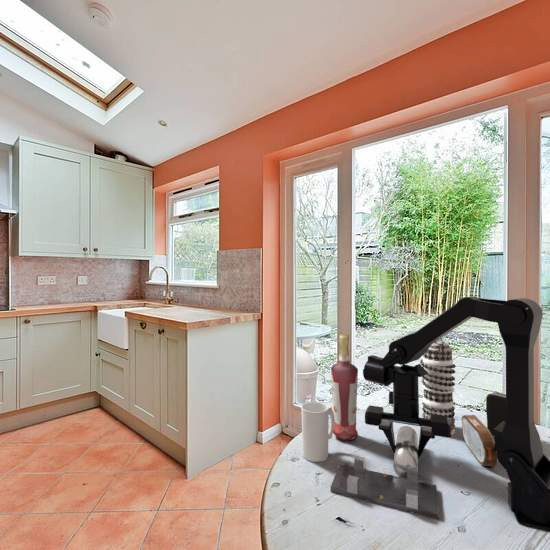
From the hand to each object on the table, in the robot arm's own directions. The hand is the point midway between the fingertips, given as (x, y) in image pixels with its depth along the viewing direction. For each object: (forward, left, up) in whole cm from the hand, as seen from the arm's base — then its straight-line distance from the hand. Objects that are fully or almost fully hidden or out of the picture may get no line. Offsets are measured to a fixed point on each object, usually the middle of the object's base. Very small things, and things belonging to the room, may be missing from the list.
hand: (406, 455), depth 79 cm
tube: (0, 0, -1) cm, 1 cm away
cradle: (+4, +14, -1) cm, 15 cm away
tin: (-16, -9, -1) cm, 18 cm away
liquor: (+16, -6, -1) cm, 17 cm away
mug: (+20, +5, -1) cm, 21 cm away
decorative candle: (-8, -21, -1) cm, 23 cm away
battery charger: (-24, -23, -1) cm, 33 cm away
